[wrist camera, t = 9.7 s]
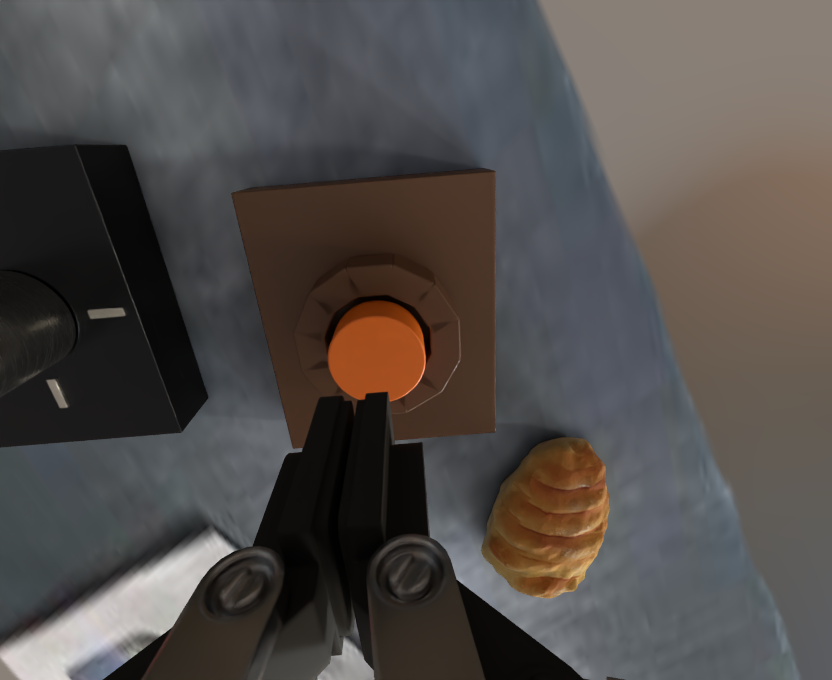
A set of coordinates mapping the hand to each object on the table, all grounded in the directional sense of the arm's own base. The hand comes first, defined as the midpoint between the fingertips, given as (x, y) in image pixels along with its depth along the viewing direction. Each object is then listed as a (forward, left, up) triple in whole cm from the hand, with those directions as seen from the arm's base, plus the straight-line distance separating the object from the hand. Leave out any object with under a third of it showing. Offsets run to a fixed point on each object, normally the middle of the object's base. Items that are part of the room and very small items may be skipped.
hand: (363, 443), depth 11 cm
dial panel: (+2, +14, -11) cm, 18 cm away
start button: (0, 0, -7) cm, 7 cm away
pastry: (-13, -8, -11) cm, 19 cm away
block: (0, 0, -11) cm, 11 cm away
